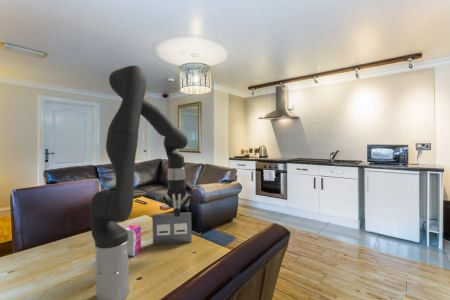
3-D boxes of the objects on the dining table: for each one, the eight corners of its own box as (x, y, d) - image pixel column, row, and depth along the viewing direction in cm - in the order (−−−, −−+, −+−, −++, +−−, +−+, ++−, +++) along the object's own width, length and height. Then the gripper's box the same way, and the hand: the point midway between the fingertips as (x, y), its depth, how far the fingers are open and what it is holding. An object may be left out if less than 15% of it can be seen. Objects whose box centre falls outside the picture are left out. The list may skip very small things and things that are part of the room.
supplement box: (133, 257, 95) (133, 230, 95) (121, 256, 97) (120, 229, 96) (141, 250, 101) (141, 225, 101) (129, 249, 102) (129, 224, 102)
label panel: (191, 242, 109) (191, 213, 108) (152, 245, 106) (152, 215, 106) (191, 240, 111) (191, 212, 111) (153, 243, 109) (153, 214, 108)
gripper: (160, 179, 96) (161, 220, 97) (191, 178, 98) (192, 218, 98) (162, 177, 103) (163, 214, 104) (191, 176, 105) (192, 212, 106)
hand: (177, 216), depth 101 cm, fingers closed
